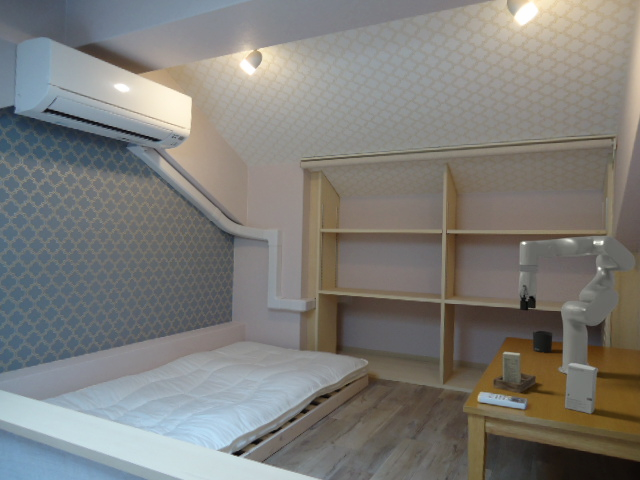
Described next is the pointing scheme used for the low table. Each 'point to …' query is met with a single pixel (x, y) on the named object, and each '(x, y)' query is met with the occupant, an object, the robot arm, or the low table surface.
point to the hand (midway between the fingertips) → (527, 309)
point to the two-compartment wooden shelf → (525, 383)
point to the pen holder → (542, 341)
